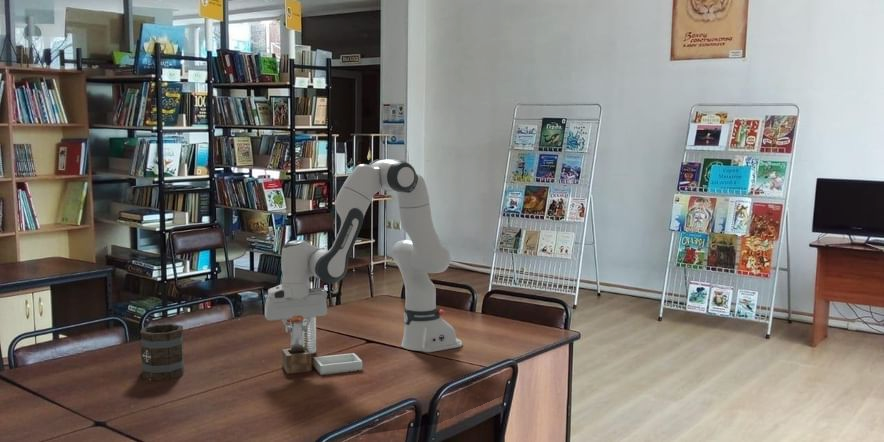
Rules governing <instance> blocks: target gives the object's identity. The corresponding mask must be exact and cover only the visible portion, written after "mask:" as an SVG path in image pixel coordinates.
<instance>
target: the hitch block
mask: <svg viewBox="0 0 884 442" xmlns="http://www.w3.org/2000/svg"><path fill="white" fill-rule="evenodd" d="M281 357H282V359H281V360H282V361H281V362H282V363H281V364H282V366H281V367H282V368H283V370H284V372H285V373H286V374H287V375H288V374H297V373H306V372H311V371H312V355H311V353H310V351H309V350H308V349H307V348H306V347H303V353H296V354H291V347H290V348H283V349H281Z"/></svg>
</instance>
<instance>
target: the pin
mask: <svg viewBox="0 0 884 442" xmlns="http://www.w3.org/2000/svg"><path fill="white" fill-rule="evenodd" d="M303 320H304V317H302V316H294V317H292V319H288V321H290V322H289V323H290V324H289V326H290V327H291V329H290V330H291V332H290V348H291V354H296V353H303Z"/></svg>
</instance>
